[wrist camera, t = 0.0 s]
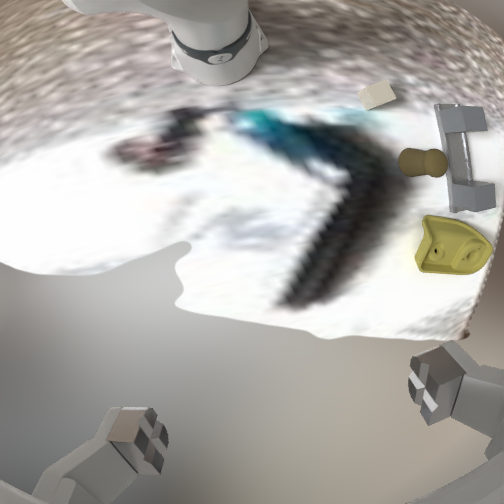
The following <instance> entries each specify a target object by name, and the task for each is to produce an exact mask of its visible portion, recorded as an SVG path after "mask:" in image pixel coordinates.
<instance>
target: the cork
mask: <svg viewBox="0 0 504 504" xmlns="http://www.w3.org/2000/svg"><path fill="white" fill-rule="evenodd" d="M399 167H400V169H401V171H402V172H403V173H404V174H405V175H406V176H409V177H415V176H421V175H427V174H428V175H430V176H431V177H436V178H437V177H441V176H443V175H444V174H445V173H446V171H447V169H448V160H447V157H446V156H445V154H444V153H443V152H442V151H440V150H438V149H430V150H428V151H423V150H418V149H412V148H406V149H404V150H403V151H402V152H401V153H400V156H399Z"/></svg>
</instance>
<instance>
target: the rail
mask: <svg viewBox="0 0 504 504" xmlns="http://www.w3.org/2000/svg"><path fill="white" fill-rule="evenodd" d="M458 106H460V104H435V105H434V109H435V113H436V118H437V122H438V127H439V132H440V137H441V143H442V148H443V153H444V154H445V156H446V157H447V160H448V169H447V171H446V176H447V185H448V194H449V207H450V212H453V213H457V212H459V211H464V210H466V209H462V208H458V207H454V206H453V197H452V187H451V184H454V183H458V182H464V181H473V179H472V170H471V162H470V155H469V148H468V142H467V136H466V132H461V133H444V132H443V127H442V123H441V118H440V114H439V111H440V110H444V109H449V108H453V107H458Z"/></svg>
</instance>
